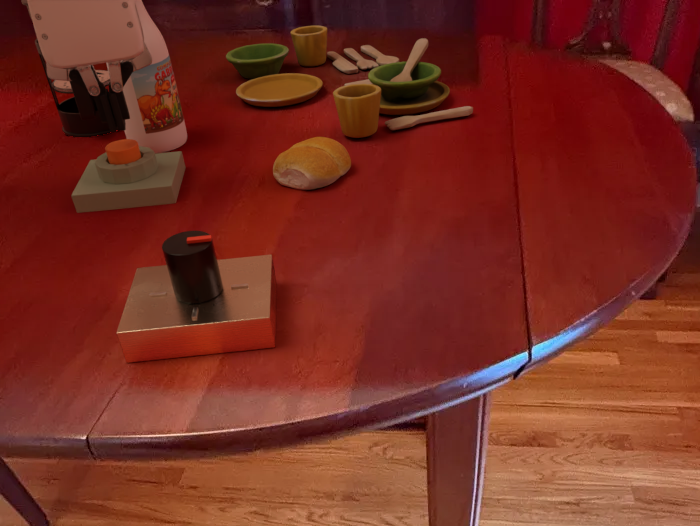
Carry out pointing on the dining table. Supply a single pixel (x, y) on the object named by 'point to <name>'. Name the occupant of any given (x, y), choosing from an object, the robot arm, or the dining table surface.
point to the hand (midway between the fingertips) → (118, 126)
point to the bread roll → (312, 164)
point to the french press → (76, 103)
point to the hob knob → (192, 266)
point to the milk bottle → (154, 96)
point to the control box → (130, 182)
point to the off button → (123, 151)
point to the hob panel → (200, 313)
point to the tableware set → (353, 98)
